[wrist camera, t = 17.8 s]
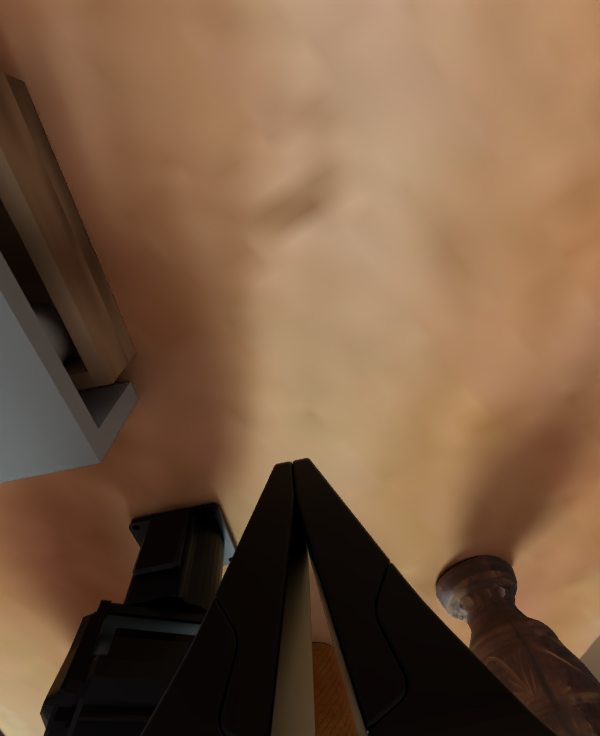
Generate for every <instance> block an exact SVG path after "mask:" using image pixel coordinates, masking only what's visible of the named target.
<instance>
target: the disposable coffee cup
mask: <svg viewBox="0 0 600 736" xmlns="http://www.w3.org/2000/svg"><path fill="white" fill-rule="evenodd" d="M312 662H313V688H314V715H315V736H359V734H358V731H357V727H356V724H355V720H354V716H353V713H352V709H351V706H350V702H349V698H348V695H347V691H346V687H345V684H344V680H343V677H342V673H341V669H340V666H339V662H338V659H337V655H336V651H335V649H334V648H333V647H331V646H330V645H327V644H322V643H312Z"/></svg>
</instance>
